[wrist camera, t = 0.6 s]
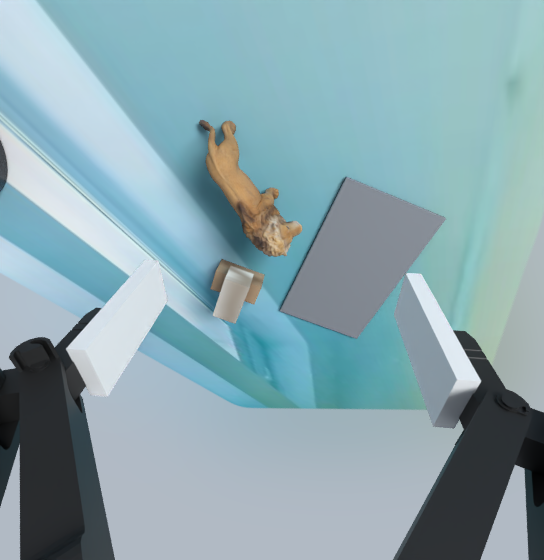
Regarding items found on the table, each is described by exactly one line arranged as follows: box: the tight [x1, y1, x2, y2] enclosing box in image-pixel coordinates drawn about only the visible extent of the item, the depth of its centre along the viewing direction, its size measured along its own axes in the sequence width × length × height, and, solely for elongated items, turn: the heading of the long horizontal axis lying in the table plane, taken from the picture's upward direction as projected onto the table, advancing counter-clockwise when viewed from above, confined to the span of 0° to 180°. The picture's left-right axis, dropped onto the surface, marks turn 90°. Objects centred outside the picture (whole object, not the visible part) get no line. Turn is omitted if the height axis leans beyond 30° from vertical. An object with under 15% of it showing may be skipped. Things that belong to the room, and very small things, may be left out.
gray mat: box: [280, 177, 446, 339], centre depth 39 cm, size 12×20×1 cm, turn 160°
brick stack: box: [211, 259, 264, 323], centre depth 39 cm, size 6×6×6 cm
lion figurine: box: [199, 120, 302, 257], centre depth 31 cm, size 15×5×9 cm, turn 42°
